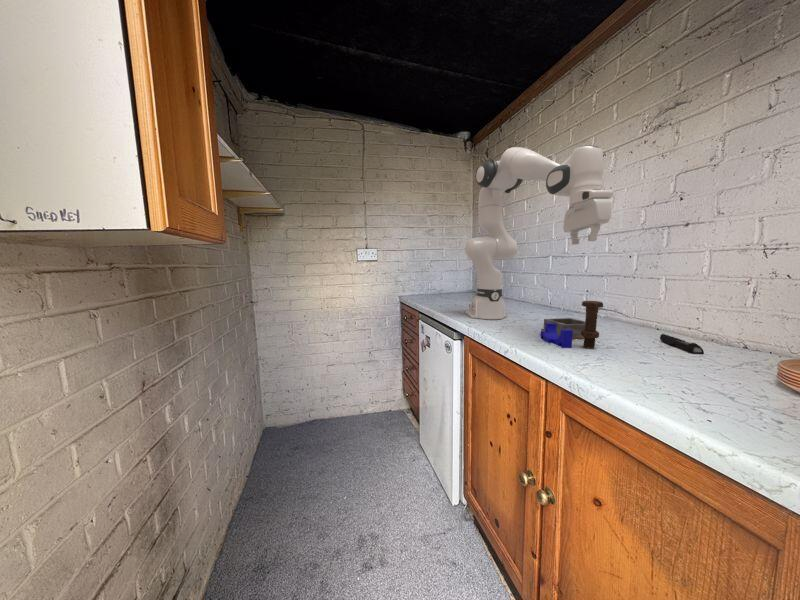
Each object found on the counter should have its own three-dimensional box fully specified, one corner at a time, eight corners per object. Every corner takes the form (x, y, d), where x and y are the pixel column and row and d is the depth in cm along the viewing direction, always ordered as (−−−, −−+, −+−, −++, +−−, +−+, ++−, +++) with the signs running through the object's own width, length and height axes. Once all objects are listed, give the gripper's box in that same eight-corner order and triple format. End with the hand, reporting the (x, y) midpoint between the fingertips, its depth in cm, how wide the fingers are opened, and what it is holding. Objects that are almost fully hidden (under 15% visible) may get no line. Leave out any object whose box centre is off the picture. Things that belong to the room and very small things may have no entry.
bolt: (601, 350, 96) (605, 303, 94) (583, 349, 97) (587, 302, 95) (593, 345, 101) (597, 300, 99) (577, 344, 102) (580, 300, 100)
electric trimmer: (668, 342, 107) (668, 333, 106) (705, 355, 92) (706, 345, 91) (656, 342, 107) (656, 333, 107) (690, 354, 92) (692, 344, 92)
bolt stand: (541, 331, 121) (542, 318, 120) (570, 330, 123) (571, 317, 122) (564, 340, 108) (565, 325, 107) (596, 338, 110) (597, 324, 110)
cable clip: (540, 339, 110) (541, 322, 110) (552, 339, 110) (553, 322, 110) (557, 348, 98) (558, 330, 98) (571, 348, 99) (572, 330, 98)
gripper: (559, 206, 107) (557, 246, 108) (594, 189, 87) (592, 238, 88) (577, 206, 107) (575, 246, 108) (617, 189, 87) (614, 238, 88)
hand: (583, 242), depth 98 cm, fingers open, 8 cm apart
